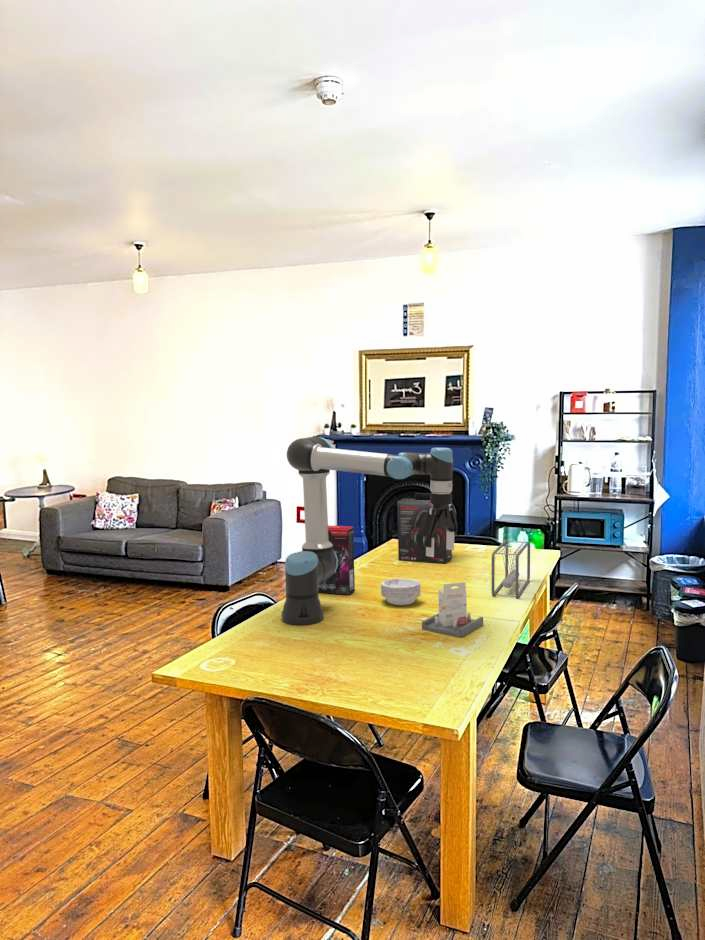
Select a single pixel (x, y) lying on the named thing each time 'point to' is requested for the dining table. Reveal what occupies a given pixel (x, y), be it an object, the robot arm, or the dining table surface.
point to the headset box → (419, 531)
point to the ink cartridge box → (452, 604)
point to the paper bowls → (400, 591)
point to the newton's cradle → (513, 574)
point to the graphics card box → (341, 562)
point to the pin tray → (454, 630)
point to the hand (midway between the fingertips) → (440, 553)
